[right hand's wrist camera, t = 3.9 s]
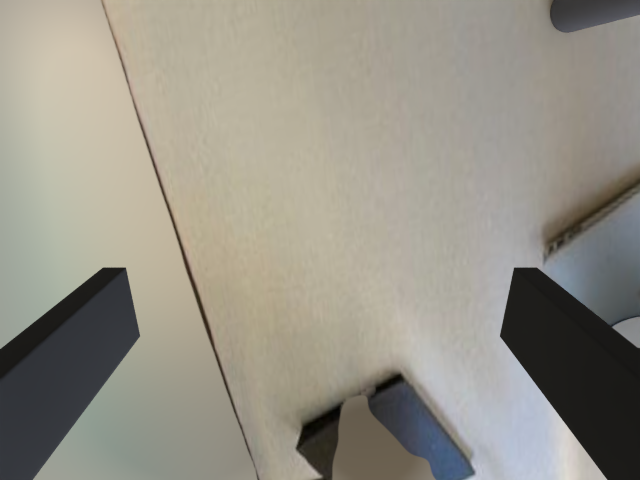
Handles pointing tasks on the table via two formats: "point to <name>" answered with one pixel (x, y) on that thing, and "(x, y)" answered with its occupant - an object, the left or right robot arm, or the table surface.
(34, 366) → the right robot arm
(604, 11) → the jar
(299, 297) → the table surface
